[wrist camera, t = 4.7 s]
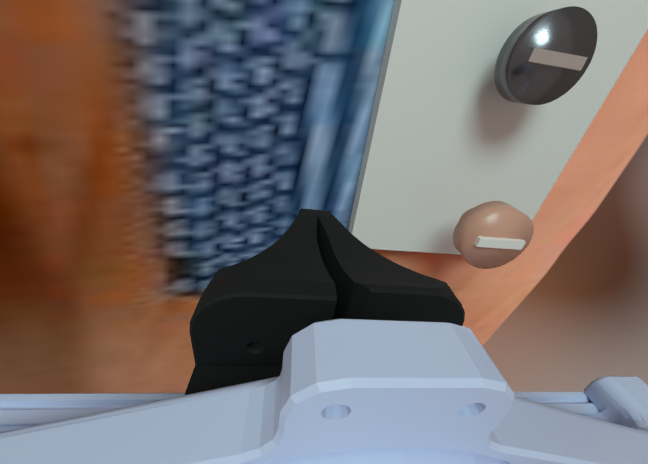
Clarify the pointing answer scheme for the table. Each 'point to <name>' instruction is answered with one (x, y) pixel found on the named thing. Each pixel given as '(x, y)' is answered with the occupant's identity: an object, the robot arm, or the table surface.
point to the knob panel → (472, 118)
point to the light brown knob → (492, 234)
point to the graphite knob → (546, 56)
